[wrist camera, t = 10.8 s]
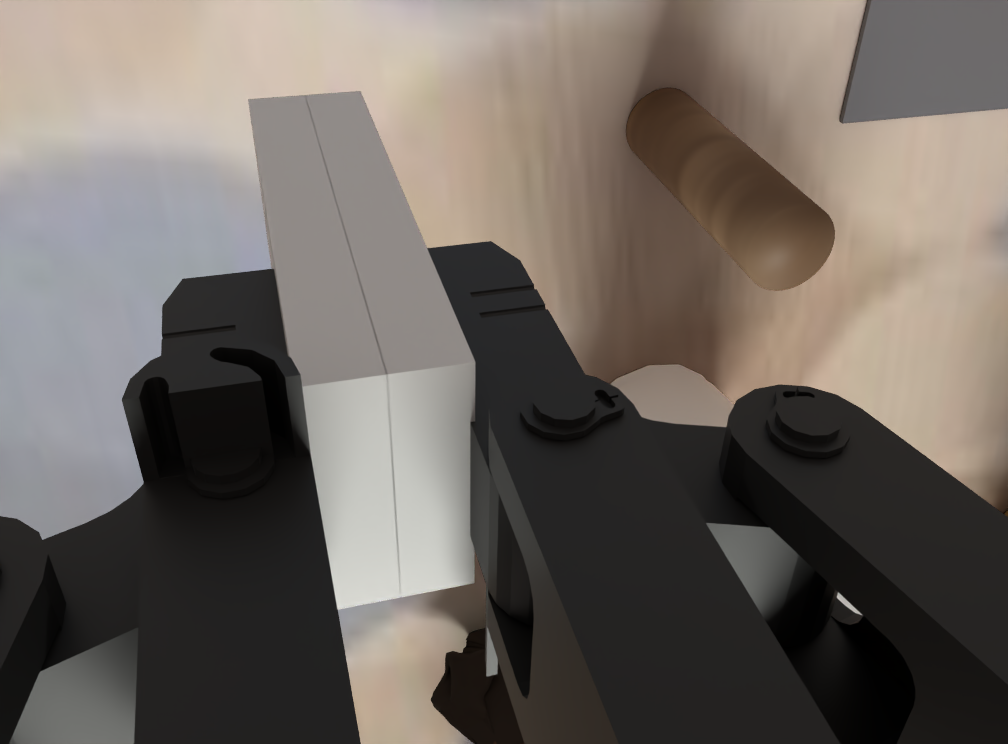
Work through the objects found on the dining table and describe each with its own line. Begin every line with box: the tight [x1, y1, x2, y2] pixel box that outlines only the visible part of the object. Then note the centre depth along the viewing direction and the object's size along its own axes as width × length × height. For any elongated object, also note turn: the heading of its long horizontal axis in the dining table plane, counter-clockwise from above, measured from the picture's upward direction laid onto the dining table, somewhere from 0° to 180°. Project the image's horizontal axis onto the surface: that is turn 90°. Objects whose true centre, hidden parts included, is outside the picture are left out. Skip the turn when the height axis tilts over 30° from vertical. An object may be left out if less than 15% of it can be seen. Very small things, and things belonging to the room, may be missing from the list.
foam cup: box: [610, 364, 862, 615], centre depth 36 cm, size 10×9×13 cm
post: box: [626, 88, 835, 291], centre depth 30 cm, size 3×3×9 cm
